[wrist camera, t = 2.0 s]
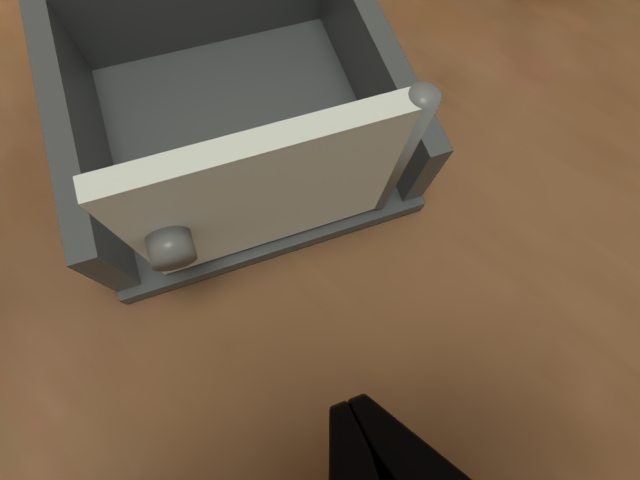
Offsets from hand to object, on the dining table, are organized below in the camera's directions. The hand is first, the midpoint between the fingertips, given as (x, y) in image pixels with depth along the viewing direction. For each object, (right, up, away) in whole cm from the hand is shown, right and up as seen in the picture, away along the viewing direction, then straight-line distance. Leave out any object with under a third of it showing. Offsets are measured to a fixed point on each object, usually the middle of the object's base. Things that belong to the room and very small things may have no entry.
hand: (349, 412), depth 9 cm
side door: (-3, +4, +13) cm, 14 cm away
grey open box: (-6, +11, +17) cm, 21 cm away
